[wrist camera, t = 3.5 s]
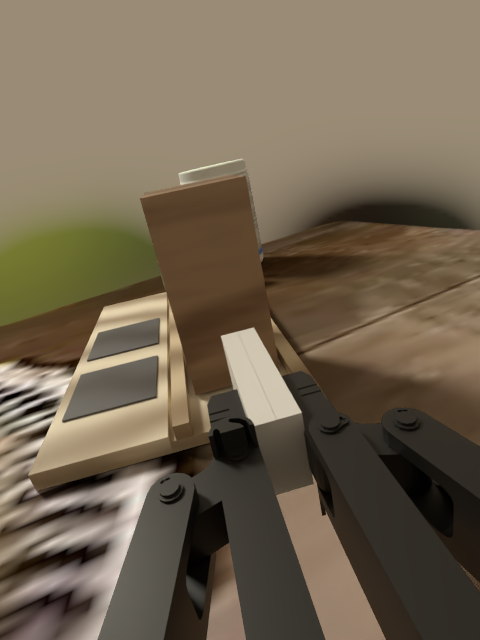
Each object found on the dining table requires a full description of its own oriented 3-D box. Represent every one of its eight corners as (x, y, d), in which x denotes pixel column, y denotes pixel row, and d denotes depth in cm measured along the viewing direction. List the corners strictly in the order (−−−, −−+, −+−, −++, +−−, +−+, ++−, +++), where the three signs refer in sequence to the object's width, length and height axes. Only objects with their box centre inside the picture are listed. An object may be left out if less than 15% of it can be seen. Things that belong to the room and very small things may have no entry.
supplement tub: (254, 254, 64) (237, 159, 58) (272, 266, 55) (254, 156, 49) (197, 268, 62) (174, 172, 56) (207, 283, 53) (180, 172, 48)
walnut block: (280, 372, 27) (245, 175, 22) (195, 395, 26) (140, 198, 21) (260, 337, 32) (229, 174, 27) (190, 355, 32) (145, 192, 27)
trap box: (330, 408, 24) (322, 337, 22) (36, 490, 22) (-1, 421, 20) (241, 280, 52) (234, 244, 50) (108, 312, 50) (95, 276, 48)
